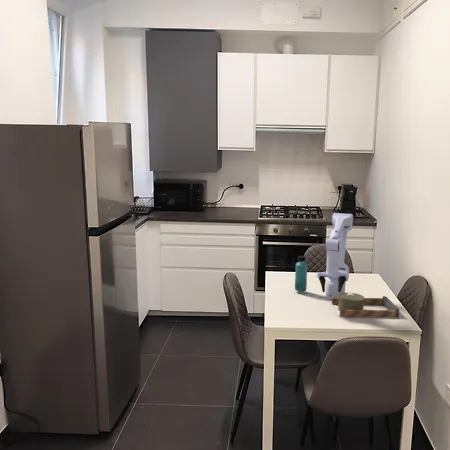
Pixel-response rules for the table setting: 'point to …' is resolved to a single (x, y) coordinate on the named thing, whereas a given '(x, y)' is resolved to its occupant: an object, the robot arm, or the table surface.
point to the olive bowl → (350, 301)
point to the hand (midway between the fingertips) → (331, 291)
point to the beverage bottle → (301, 274)
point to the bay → (391, 312)
